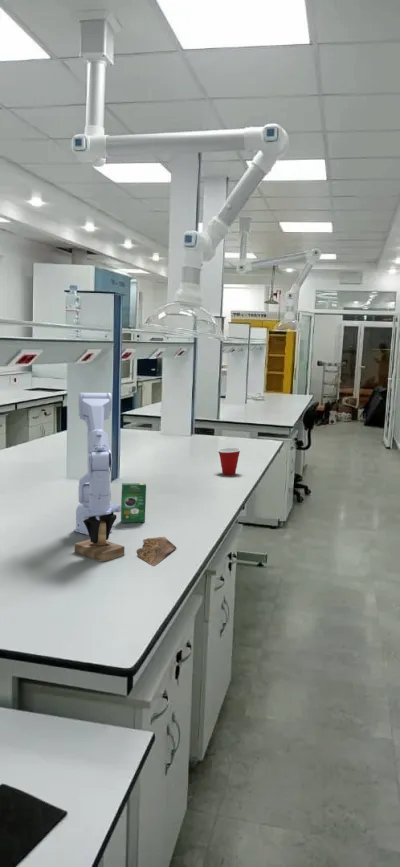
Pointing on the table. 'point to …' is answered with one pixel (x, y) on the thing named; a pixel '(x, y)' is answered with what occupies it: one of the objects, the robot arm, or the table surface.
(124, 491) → the coffee box
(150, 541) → the wooden fragment
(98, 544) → the peg
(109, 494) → the robot arm
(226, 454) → the plastic cup
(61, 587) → the table surface
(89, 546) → the board
